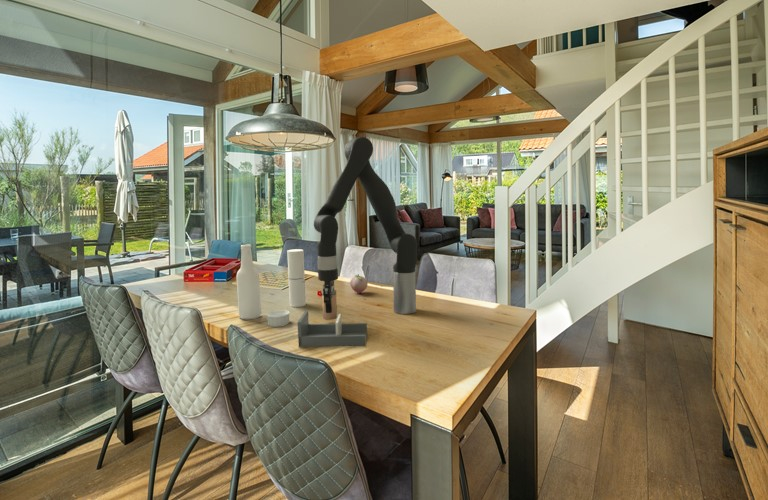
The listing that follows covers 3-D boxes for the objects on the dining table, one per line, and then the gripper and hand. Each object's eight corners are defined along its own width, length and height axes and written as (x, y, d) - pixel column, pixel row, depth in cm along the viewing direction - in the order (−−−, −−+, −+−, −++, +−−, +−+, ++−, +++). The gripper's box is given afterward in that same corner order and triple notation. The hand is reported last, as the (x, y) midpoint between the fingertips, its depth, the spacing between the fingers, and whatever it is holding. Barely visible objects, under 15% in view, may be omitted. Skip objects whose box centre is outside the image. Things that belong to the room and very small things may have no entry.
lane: (366, 332, 144) (366, 309, 143) (365, 346, 131) (364, 321, 130) (306, 333, 144) (305, 310, 143) (298, 347, 131) (297, 322, 130)
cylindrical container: (286, 304, 181) (284, 250, 178) (300, 301, 186) (297, 248, 183) (295, 307, 176) (292, 252, 173) (308, 304, 181) (306, 250, 178)
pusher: (341, 332, 143) (341, 313, 142) (338, 343, 133) (337, 322, 132) (339, 332, 143) (338, 313, 142) (336, 343, 133) (335, 323, 132)
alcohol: (266, 315, 166) (261, 244, 161) (248, 321, 158) (243, 246, 154) (252, 312, 171) (248, 242, 166) (234, 317, 163) (229, 245, 159)
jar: (338, 315, 157) (337, 289, 155) (336, 319, 151) (335, 292, 150) (324, 315, 157) (322, 289, 155) (321, 320, 151) (320, 293, 150)
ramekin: (271, 329, 149) (271, 318, 149) (263, 323, 157) (262, 312, 156) (293, 324, 155) (293, 313, 154) (284, 318, 162) (284, 308, 161)
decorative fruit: (371, 294, 198) (370, 274, 197) (356, 296, 194) (355, 276, 193) (362, 290, 206) (362, 271, 205) (348, 292, 202) (347, 273, 201)
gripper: (335, 270, 144) (337, 315, 147) (339, 263, 158) (341, 304, 161) (314, 271, 144) (317, 316, 147) (320, 264, 158) (322, 305, 161)
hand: (329, 310), depth 154 cm, fingers closed on jar, 5 cm apart
